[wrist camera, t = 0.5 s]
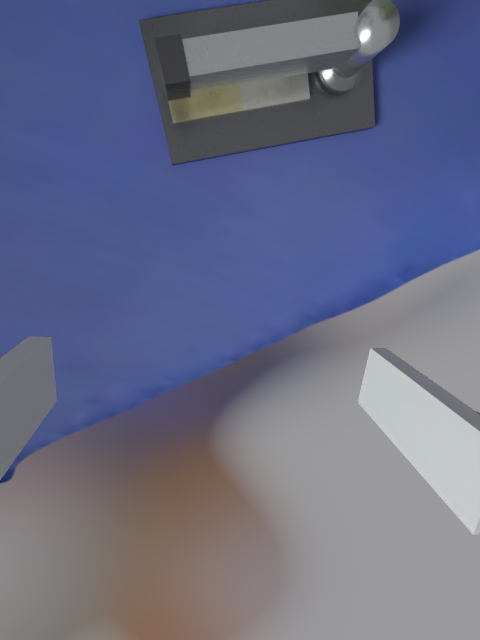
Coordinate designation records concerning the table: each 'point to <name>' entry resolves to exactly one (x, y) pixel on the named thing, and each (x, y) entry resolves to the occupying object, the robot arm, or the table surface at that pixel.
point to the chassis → (258, 88)
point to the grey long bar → (276, 50)
